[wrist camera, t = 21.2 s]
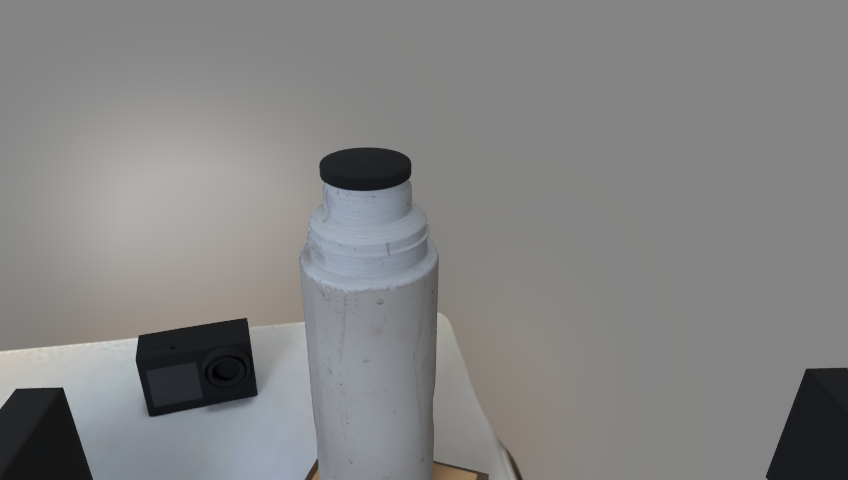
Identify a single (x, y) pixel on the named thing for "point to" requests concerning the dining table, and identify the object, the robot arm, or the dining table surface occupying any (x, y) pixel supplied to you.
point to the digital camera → (196, 366)
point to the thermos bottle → (371, 320)
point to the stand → (444, 475)
